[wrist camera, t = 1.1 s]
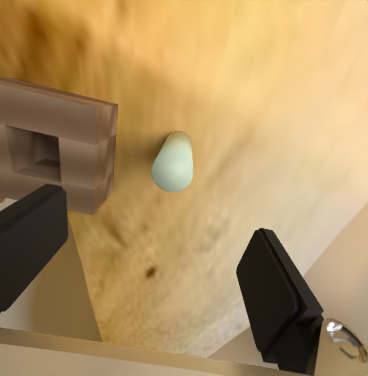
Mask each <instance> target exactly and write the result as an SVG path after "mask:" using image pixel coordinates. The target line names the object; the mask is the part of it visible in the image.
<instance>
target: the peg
mask: <svg viewBox="0 0 368 376" xmlns="http://www.w3.org/2000/svg"><path fill="white" fill-rule="evenodd" d="M151 173H152V178H153V180H154V182H155V184H156V185H157V186H158V187H159V188H161V189H163V190H165V191H168V192H178V191H181V190H183V189H185V188H186V187H187V186H188V185H189V184H190V183H191V181H192V178H193V162H192V143H191V139H190V137H189V136H188V135H187V134H186V133H184V132H181V131H176V132H173V133H171V134H170V135H169V136H168V137H167V139H166V141H165V143H164V144H163V146H162V148H161V150H160V152H159V154H158V156H157V158H156V160H155V162H154V164H153V166H152V171H151Z"/></svg>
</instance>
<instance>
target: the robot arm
mask: <svg viewBox="0 0 368 376" xmlns="http://www.w3.org/2000/svg"><path fill="white" fill-rule="evenodd" d="M67 238H68V222H67V198H66V191H65V190H63V188H62V187H61V186H58V185H53V184H45V185H43V186H41V187H40V188H38V189H36V190H35V191H33V192H31V193H30V194H28V195H26V196H25V197H23V198H21V199H20V200H18V201H17V202H15V203H13V204H12V205H10V206H8V207H6V208H5V209H3V210H1V211H0V313H1V311H6V310H7V309H8V308H9V307H10V306H11V305H12V304H13V303H14V301H15V300H16V299H17V298H18V297H19V296H20V295H21V293H22V292H23V291H24V290H25V289H26V287H27V286H28V285H29V284H30V283H31V281H32V280H33V279H34V278H35V277H36V276H37V275H38V274H39V272H40V271H41V270H42V269H43V268H44V266H45V265H46V264H47V263H48V262H49V261H50V259H51V258H52V257H53V256H54V255H55V254H56V253H57V251H58V250H59V249H60V248H61V247H62V245H63V244H64V243H65V242H66V240H67ZM236 274H237V278H238V281H239V285H240V289H241V292H242V296H243V300H244V304H245V307H246V311H247V315H248V318H249V322H250V326H251V329H252V333H253V337H254V340H255V344H256V347H257V349H258V351H260V352H261V355H262V358H263V361H264V362H267V363H274V364H278V367H279V370H277V369H271V368H265V367H260V366H254V365H247V364H240V363H234V362H227V361H221V360H215V359H209V358H202V357H196V356H189V355H183V354H176V353H170V352H163V351H156V350H150V349H143V348H136V347H130V346H123V345H116V344H109V343H103V342H95V341H89V340H82V339H75V338H69V337H62V336H55V335H48V334H40V333H34V332H27V331H20V330H13V329H5V328H0V376H368V346H367V345H366V343H365V342H364V341H363V339H362V338H361V337H360V336H359V335H358V334H357V333H356V332H355V331H353V330H352V329H351V328H350V327H349V326H347V325H346V324H344V323H342V322H341V321H338V320H336V319H334V318H326V319H324V318H323V317H322V315H321V313H322V312H323V311H324V310H323V309H322V307H321V306H320V304H319V302H318V301H317V299H316V298H315V296H314V295H313V293H312V292H311V290H310V289H309V287H308V285H307V283H306V282H305V280H304V279H303V277H302V276H301V274H300V272H299V271H298V269H297V268H296V266H295V265H294V263H293V261H292V260H291V258H290V257H289V255H288V254H287V252H286V250H285V249H284V247H283V246H282V244H281V243H280V241H279V239H278V238H277V236H276V235H275V233H274V232H273V231H272V230H268V229H264V228H260V229H258V230H256V231H255V232H254V234H253V236H252V238H251V240H250V242H249V244H248V246H247V248H246V250H245V252H244V254H243V256H242V258H241V260H240V262H239V264H238V266H237V270H236Z"/></svg>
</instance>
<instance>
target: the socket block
mask: <svg viewBox="0 0 368 376" xmlns="http://www.w3.org/2000/svg"><path fill="white" fill-rule="evenodd" d="M117 114H118V105H117V104H113V103H109V102H105V101H101V100H97V99H93V98H89V97H85V96H81V95H77V94H73V93H69V92H64V91H60V90H56V89H52V88H48V87H44V86H40V85H36V84H32V83H28V82H24V81H20V80H16V79H10V78H0V197H5V198H10V199H15V200H20V199H21V198H23V197H25V196H26V195H28V194H30V193H31V192H33V191H35V190H36V189H38V188H40V187H41V186H43V185H45V184H53V185H58V186H61V187H62V188H63V190H65V191H66V198H67V210H70V211H75V212H80V213H85V214H90V215H94V214H95V213H96V211H97V210H98V209H99V208H100V206H101V205H102V204H103V203H104V201H105V200H106V199H107V198H108V196H109V195H110V194H111V193H112V186H113V172H114V157H115V143H116V128H117Z"/></svg>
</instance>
